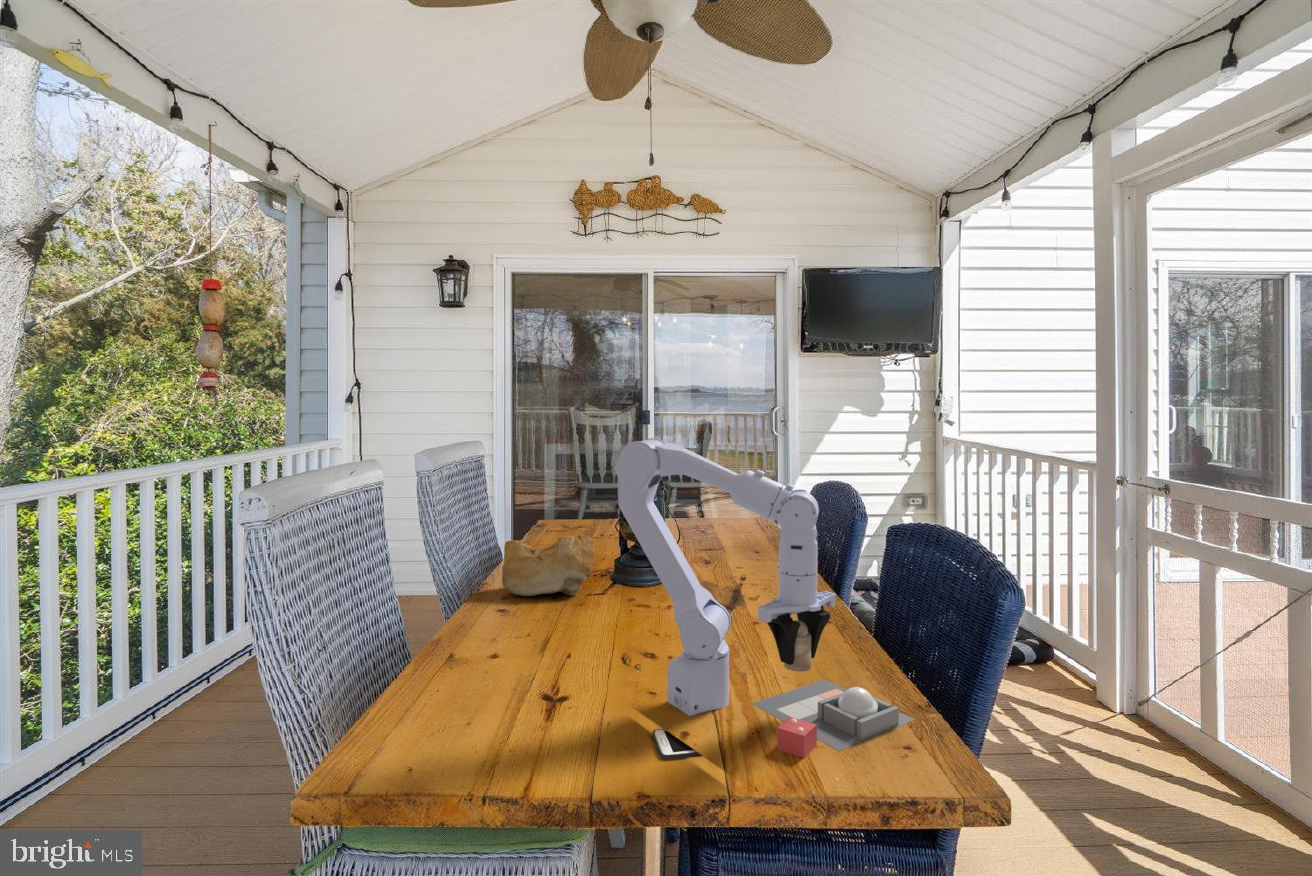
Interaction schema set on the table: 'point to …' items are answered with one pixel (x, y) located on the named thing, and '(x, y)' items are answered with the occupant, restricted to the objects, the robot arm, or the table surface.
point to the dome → (858, 703)
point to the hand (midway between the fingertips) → (797, 659)
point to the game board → (832, 714)
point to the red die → (797, 737)
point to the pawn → (801, 650)
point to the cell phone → (672, 746)
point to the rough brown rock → (548, 566)
